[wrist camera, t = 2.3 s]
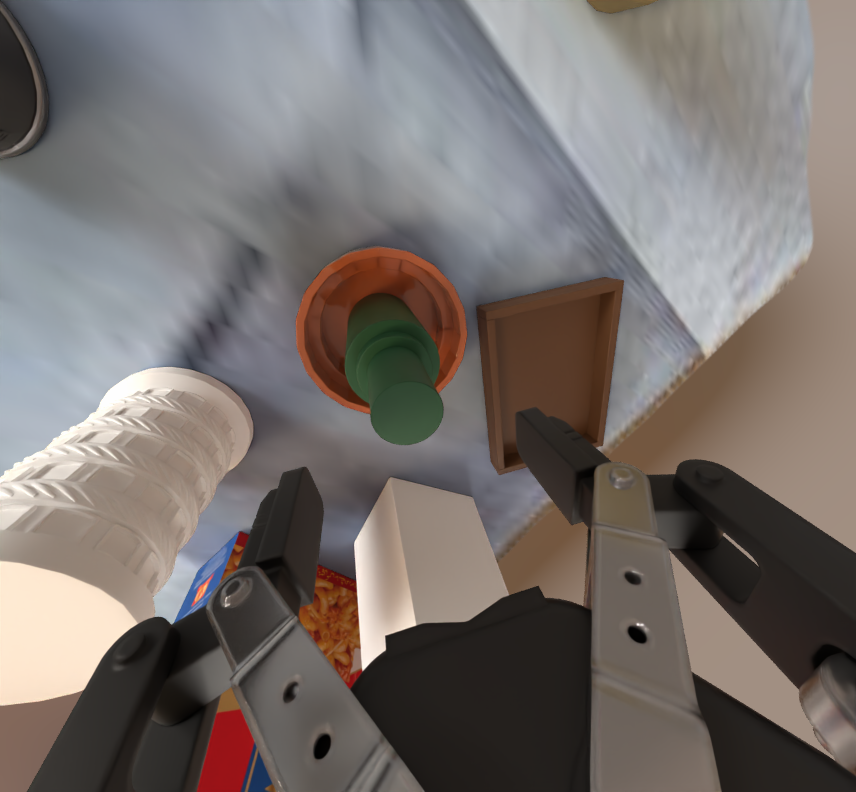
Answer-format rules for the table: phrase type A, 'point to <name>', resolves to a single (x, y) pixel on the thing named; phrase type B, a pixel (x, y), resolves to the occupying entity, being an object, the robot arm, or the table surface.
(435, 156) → the table surface
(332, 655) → the pasta box
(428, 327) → the bowl
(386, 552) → the milk
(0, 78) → the robot arm
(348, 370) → the bottle
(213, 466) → the decorative container
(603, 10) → the squeeze bottle
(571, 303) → the tray
